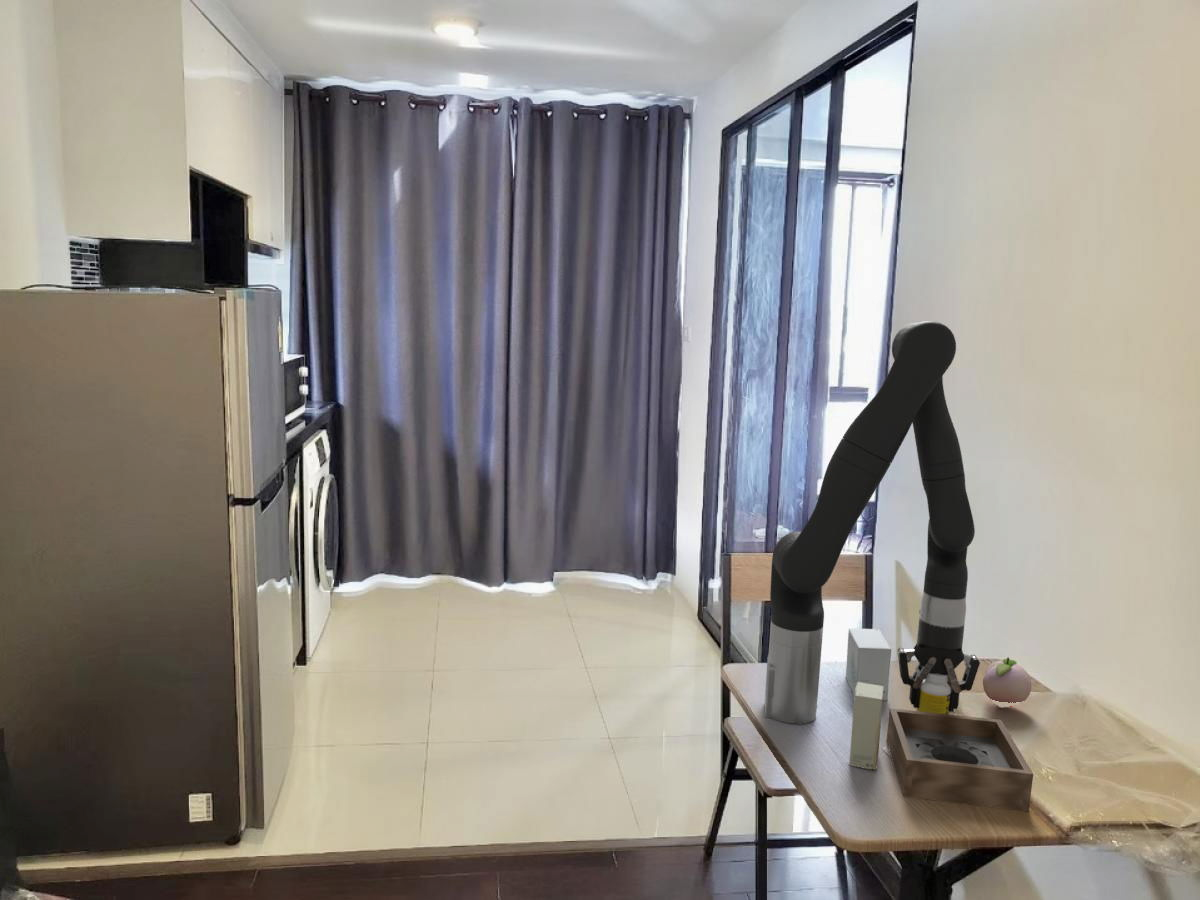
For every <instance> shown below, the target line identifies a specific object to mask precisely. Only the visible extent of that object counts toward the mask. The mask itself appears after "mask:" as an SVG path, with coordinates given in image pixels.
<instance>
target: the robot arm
mask: <svg viewBox="0 0 1200 900" xmlns="http://www.w3.org/2000/svg"><path fill="white" fill-rule="evenodd" d="M956 342H957V341H956V337H955V335H954V333H953V332H952V330H951V329H950V328H949V327H948V326H947V325H945V324H943V323H941V322H938V321H932V320H929V321H927V320H926V321H916V322H911V323H908V324H906V325H905V326H903V327H901V329H900V330H898V332H897V333H896V334H895V336H894V338H893V340H892V344H891V354H892V358H893V360H894V361H893V362H892V366H891V367H890V370H889V371H888V374H887V375H886V378H885V380H884V381H883V384H882V385H881V387H880V388H879V390H878V391H877V393H876V394H875V396H874V397H872V399H871V400H870V401H869V402H868V404H867V405H866V406H865V407H864V408H863V409H862V410H861V412H860V413H858V415H857V416H856V417H855V418H854V420H853V421H852V422H851V424H850V425H849V427H848V428H847V430H846V431H845V433H844V434H843V436H842V438H841V439H840V441H839V443H838V445H837V446H836V448H835V450H834V452H833V454H832V455H831V458H830V460H829V462H828V464H827V466H826V470H825V473H824V476H823V479H822V483H821V486H820V491H819V494H818V498H817V501H816V504H815V506H814V507H815V508H814V510H813V511H812V513H811V515H810V517H809V519H808V521H807V522H806V523H805V525H804V526H803V529H802V530H801V531H792V532H789V533H787V534H785V535H784V536H782V537H781V538H780V539H779V540H778V541H777V543H776V545H775V547H774V549H773V552H772V556H771V558H772V559H771V575H770V591H769V592H770V593H769V596H770V597H769V598H770V599H769V601H770V602H769V603H770V609H771V611H770V613H771V614H770V615H771V616H770V630H769V645H768V655H767V659H766V660H767V663H766V674H765V676H766V677H765V689H764V690H765V692H764V717H765V718H772V719H773V720H776V721H778V722H783V723H786V724H793V723H802V724H809V723H810V722H813V721H814V720H815V719H816V718H817V710H818V697H819V684H820V673H821V672H820V671H821V670H820V669H821V661H822V660H821V658H822V647H823V646H822V645H823V634H824V623H825V621H824V620H825V610H824V605H823V594H822V590H823V588H822V587H824V585H825V584H827V582H828V581H829V580H830V578H831V576H832V574H833V571H834V569H835V567H836V565H837V563H838V560H839V557H840V555H841V553H842V551H843V549H844V546H845V544H846V541H847V540H848V538H849V536H850V533H851V532H852V530H853V528H854V526H855V525H856V523H857V521H858V519H859V518H860V517H861V515H862V513H863V511H864V510H865V509H866V507H867V505H868V504H869V501H870V500H871V498H872V496H873V495H874V493H875V491H876V490H877V488H878V487H879V485H880V483H881V482H882V481H883V479H884V477H885V475H886V473H887V472H888V469H889V468H890V467H891V464H892V463H893V462H894V459H895V457H896V455H897V453H898V451H899V450H900V448H901V445H902V444H903V442H904V440H905V439H906V437H907V434H908V433H909V431H910V429H911V426H913V433H914V441H915V447H916V454H917V459H918V466H919V470H920V471H919V472H920V478H921V483H922V487H923V490H924V492H925V495H926V499H927V509H928V524H927V525H928V526H927V545H926V546H927V555H926V556H927V561H926V567H925V573H924V581H923V592H922V596H921V600H920V606H919V607H920V608H919V610H918V614H919V616H918V618H919V619H918V628H917V638H916V644H915V646H913V648H910V649H908V648H907V649H904V648H903V647H899V648H897V657H898V658H897V659H898V664H899V665H898V666H899V676H900V678H901V681H902V684H904V685H908V686H909V687H910V688H909V702H910V705H912V706H913V708H915V709H917V708H919V698H920V688H919V687H920V685H921V684H922V682H923V680H924V679H926V677H927V675H928V674H929V673H930V674H937V673H938V674H941V675H947V674H948V678H949V681H950V684H951V695H950V703H949V712H948V713H954V712H955V710H957V709H958V708H959V699H960V693H961V692H963V691H967V692H968V691H969V692H970V691H971V690H972V688H973V685H974V682H975V679H976V676H977V674H978V670H979V667H980V665H981V662H980V659H979V658H978V657H977V655H976V654H970V655H969V654H965V653H964V652H963V645H964V644H963V642H964V633H965V623H966V615H967V601H966V599H967V591H968V590H967V589H968V580H969V579H968V577H969V576H968V575H969V571H968V570H969V569H968V565H967V555H968V548H969V546H970V545H971V544H972V543H973V540H974V538H975V534H976V533H975V532H976V529H975V524H974V523H975V521H974V517H973V514H972V509H971V505H970V501H969V498H968V492H967V488H966V476H965V475H966V474H965V470H964V462H963V455H962V452H961V451H962V450H961V446H960V440H959V438H958V435H957V431H956V429H955V427H954V423H953V421H952V417H951V414H950V412H949V408H948V405H947V400H946V396H945V390H944V382H943V379H944V378H943V375H945V373H946V372H947V370H948V369H949V368H950V367H951V365H952V363H953V360H954V358H955V356H956V353H957V343H956ZM913 657H915V658H916V660H917V662H918V663H917V666H916V668H915V670H914V673H913V674H912V676H911V675H910V674H909V665H908V663H911V661H912V658H913ZM963 662H964V664H963V665H964V666H965V669H964V673H963V677H962V679H961V680H959V679H958V677H957V674H956V671H955V670H956V668H957V667H958V666H959V665H960V664H961V663H963ZM958 680H959V681H958Z"/></svg>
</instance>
